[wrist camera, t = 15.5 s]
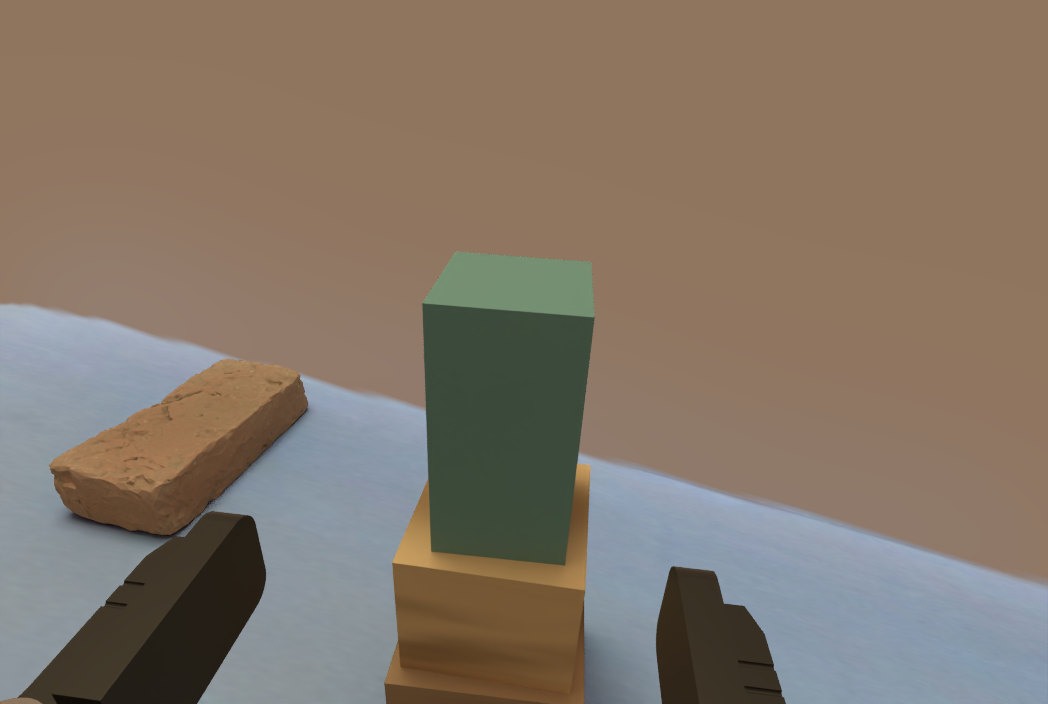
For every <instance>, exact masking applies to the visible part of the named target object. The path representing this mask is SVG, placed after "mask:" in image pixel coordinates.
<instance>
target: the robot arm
mask: <svg viewBox="0 0 1048 704" xmlns="http://www.w3.org/2000/svg"><path fill="white" fill-rule="evenodd" d="M265 581H266V569H265V564H264V560H263V555H262V551H261V546H260V542H259V537H258V533H257V528H256V524H255V521H254V519H253V518H252V517H251V516H248V515H240V514H231V513H223V512H214V511H212V512H208V513H206V514H205V515H204V516H203V517H202V518H201V519H200V520H199V521H198V522H197V523H196V525H195V526H194V527H193V528H192V529H191V530H190V532H189V533H188V534H187V535H186V536H185V537H178V536H175V537H174V538H172V539H171V540H169V541H168V542H166V543H165V544H163V545H162V546H160V547H159V548H157V549H156V550H154V551H153V552H151V553H150V554H149V555H147V556H146V557H145V558H144V559H143V560H142V561H141V562H140V564H139V565H138V566H137V567H136V568H135V569H134V570H133V571H132V572H131V574H130V575H129V576H128V577H127V578H126V579H125V580H124V584H123V585H122V586H119V587H118V588H117V589H116V590H115V591H114V592H113V594H112V595H111V596H110V597H109V598H108V599H107V600H106V604H105V606H104V607H102V606H101V607H100V608H99V609H98V610H97V611H96V613H95V614H94V615H93V616H92V617H91V618H90V619H89V620H88V621H87V623H86V624H85V625H84V626H83V627H82V628H81V629H80V630H79V631H78V633H77V634H76V635H75V636H74V637H73V638H72V639H71V640H70V642H69V643H68V644H67V645H66V646H65V647H64V648H63V649H62V650H61V652H60V653H59V654H58V655H57V656H56V657H55V658H54V659H53V660H52V662H51V663H50V664H49V665H48V666H47V667H46V668H45V669H44V670H43V672H42V673H41V674H40V675H39V676H38V677H37V678H36V679H35V680H34V682H33V683H32V684H31V685H30V686H29V687H28V688H27V689H26V690H25V691H24V692H23V693H22V694H21V695H20V696H19V697H17V698H13V699H8V700H4V701H1V702H0V704H197V703H198V701H199V700H200V698H201V696H202V695H203V693H204V692H205V690H206V688H207V687H208V685H209V683H210V682H211V680H212V678H213V677H214V675H215V674H216V672H217V670H218V669H219V667H220V665H221V664H222V662H223V660H224V659H225V657H226V656H227V654H228V652H229V651H230V649H231V647H232V646H233V644H234V642H235V641H236V639H237V638H238V636H239V634H240V633H241V631H242V629H243V628H244V626H245V625H246V623H247V621H248V620H249V618H250V616H251V615H252V613H253V611H254V610H255V608H256V607H257V605H258V603H259V601H260V599H261V596H262V594H263V590H264V586H265ZM656 653H657V663H658V672H659V681H660V690H661V698H662V704H786V703H785V700H784V697H782V694H781V692H782V690H781V686H780V683H779V680H778V677H777V673H776V671H774V664H773V660H772V657H771V654H770V651H769V647H768V644H767V641H766V638H765V634H764V633H763V631H762V630H761V628H760V627H759V626H758V624H757V623H756V622H755V620H754V619H753V617H752V616H751V615H750V613H749V612H748V611H747V609H746V608H745V606H739V605H731V604H724V603H723V599H722V595H721V591H720V587H719V583H718V579H717V576H716V574H715V572H713V571H708V570H700V569H691V568H683V567H674V566H673V567H671V569H670V572H669V576H668V580H667V584H666V588H665V593H664V597H663V601H662V605H661V609H660V614H659V618H658V623H657V633H656Z"/></svg>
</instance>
